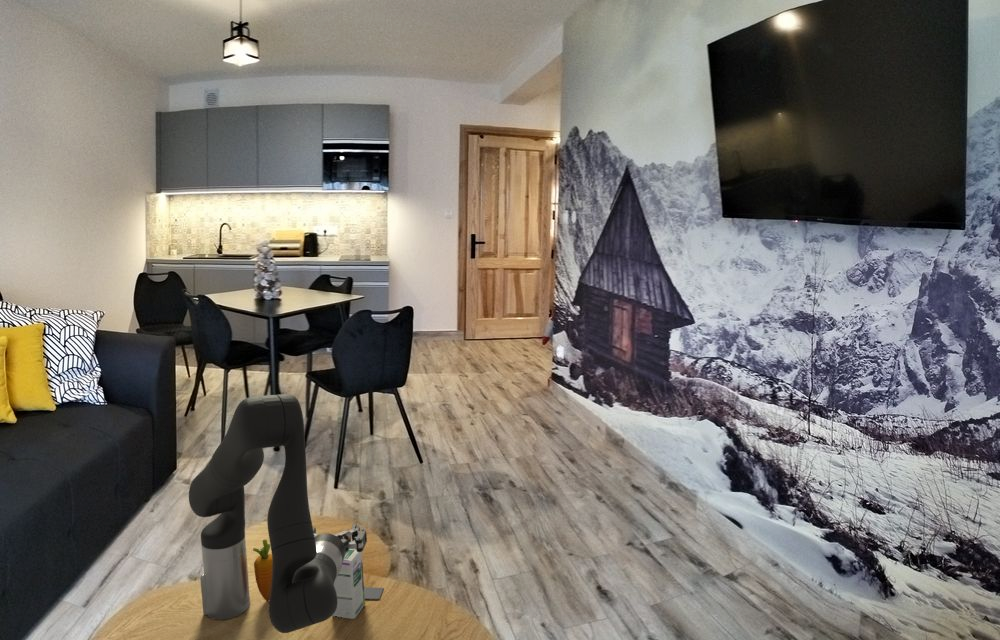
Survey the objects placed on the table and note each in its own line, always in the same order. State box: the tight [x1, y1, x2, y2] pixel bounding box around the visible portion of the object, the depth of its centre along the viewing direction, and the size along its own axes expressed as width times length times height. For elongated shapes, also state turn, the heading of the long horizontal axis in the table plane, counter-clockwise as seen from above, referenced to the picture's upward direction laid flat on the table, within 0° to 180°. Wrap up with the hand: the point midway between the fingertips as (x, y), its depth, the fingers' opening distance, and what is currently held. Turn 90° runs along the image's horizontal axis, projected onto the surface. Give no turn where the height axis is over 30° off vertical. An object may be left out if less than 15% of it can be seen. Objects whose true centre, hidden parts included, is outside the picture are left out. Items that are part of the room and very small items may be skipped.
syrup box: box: [331, 548, 366, 620], centre depth 148 cm, size 6×6×14 cm
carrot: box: [252, 539, 273, 602], centre depth 152 cm, size 5×5×15 cm
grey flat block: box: [364, 586, 384, 601], centre depth 156 cm, size 8×4×1 cm, turn 88°
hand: (334, 529), depth 137 cm, fingers open, 8 cm apart
